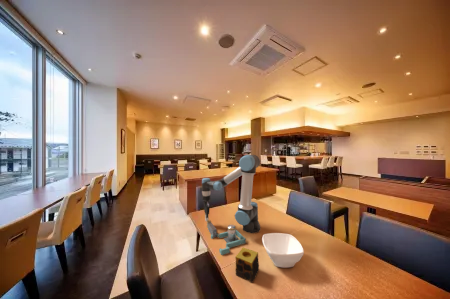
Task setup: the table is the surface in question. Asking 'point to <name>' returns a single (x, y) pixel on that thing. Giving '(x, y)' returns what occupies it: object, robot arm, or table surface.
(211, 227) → the lock pin
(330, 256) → the table surface
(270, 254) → the bowl
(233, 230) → the spigot
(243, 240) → the dock cradle
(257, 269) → the candle
